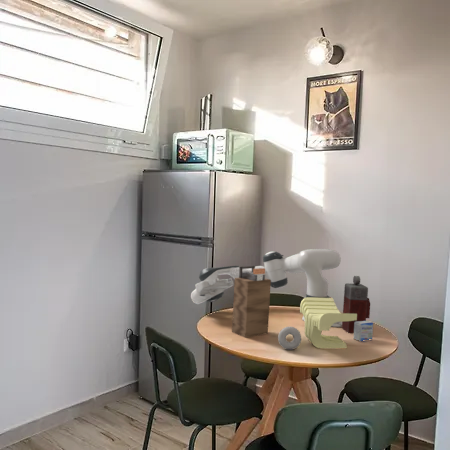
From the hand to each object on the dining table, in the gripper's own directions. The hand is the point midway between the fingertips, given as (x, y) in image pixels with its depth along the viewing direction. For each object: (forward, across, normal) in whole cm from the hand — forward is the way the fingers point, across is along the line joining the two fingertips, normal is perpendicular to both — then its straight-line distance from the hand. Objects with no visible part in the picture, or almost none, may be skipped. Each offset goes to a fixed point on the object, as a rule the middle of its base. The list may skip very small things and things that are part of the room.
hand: (223, 279), depth 231 cm
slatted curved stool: (+33, -20, -45) cm, 59 cm away
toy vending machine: (+28, -51, -42) cm, 72 cm away
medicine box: (+38, -42, -47) cm, 73 cm away
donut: (+32, 0, -44) cm, 54 cm away
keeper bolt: (+17, 0, -5) cm, 18 cm away
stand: (+8, 0, -30) cm, 31 cm away
